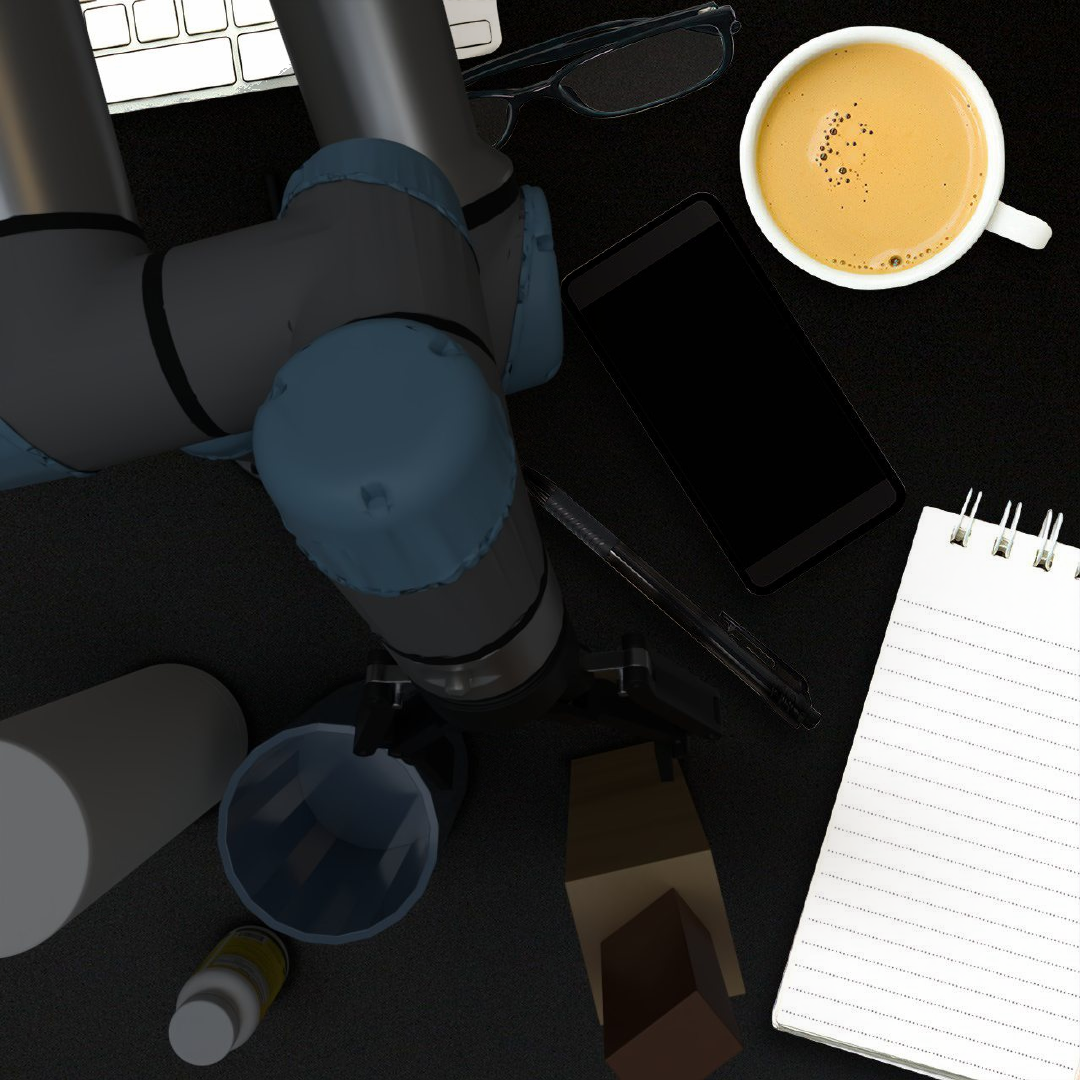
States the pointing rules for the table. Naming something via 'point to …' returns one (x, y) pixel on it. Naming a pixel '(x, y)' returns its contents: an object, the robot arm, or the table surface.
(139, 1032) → the table surface
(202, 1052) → the pill bottle
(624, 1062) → the chocolate box
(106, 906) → the table surface
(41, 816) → the cylinder
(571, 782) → the stand
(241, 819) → the bin
